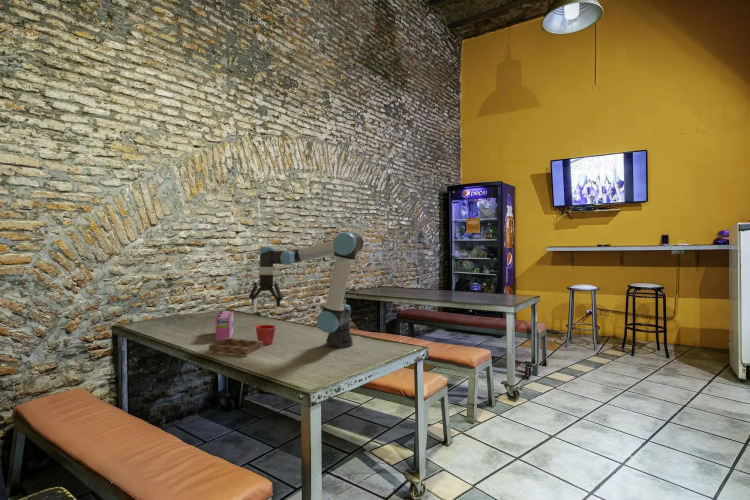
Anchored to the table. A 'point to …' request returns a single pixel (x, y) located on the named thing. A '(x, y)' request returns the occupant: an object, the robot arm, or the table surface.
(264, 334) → the flower pot
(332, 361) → the table surface
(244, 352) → the wooden tray
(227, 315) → the gum box
